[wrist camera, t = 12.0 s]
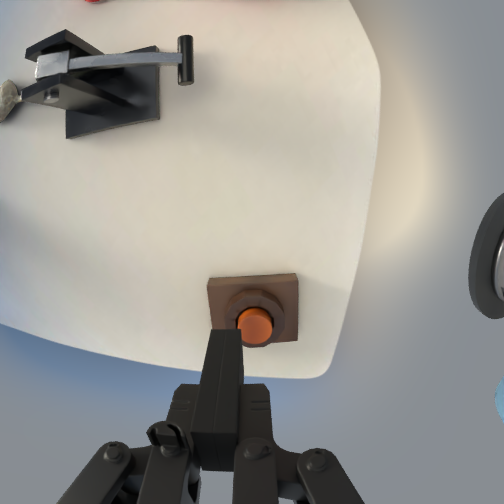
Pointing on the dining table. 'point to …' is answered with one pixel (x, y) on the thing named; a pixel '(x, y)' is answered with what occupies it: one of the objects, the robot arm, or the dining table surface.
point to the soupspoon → (8, 98)
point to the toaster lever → (121, 61)
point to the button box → (256, 303)
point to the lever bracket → (95, 89)
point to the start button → (255, 325)
